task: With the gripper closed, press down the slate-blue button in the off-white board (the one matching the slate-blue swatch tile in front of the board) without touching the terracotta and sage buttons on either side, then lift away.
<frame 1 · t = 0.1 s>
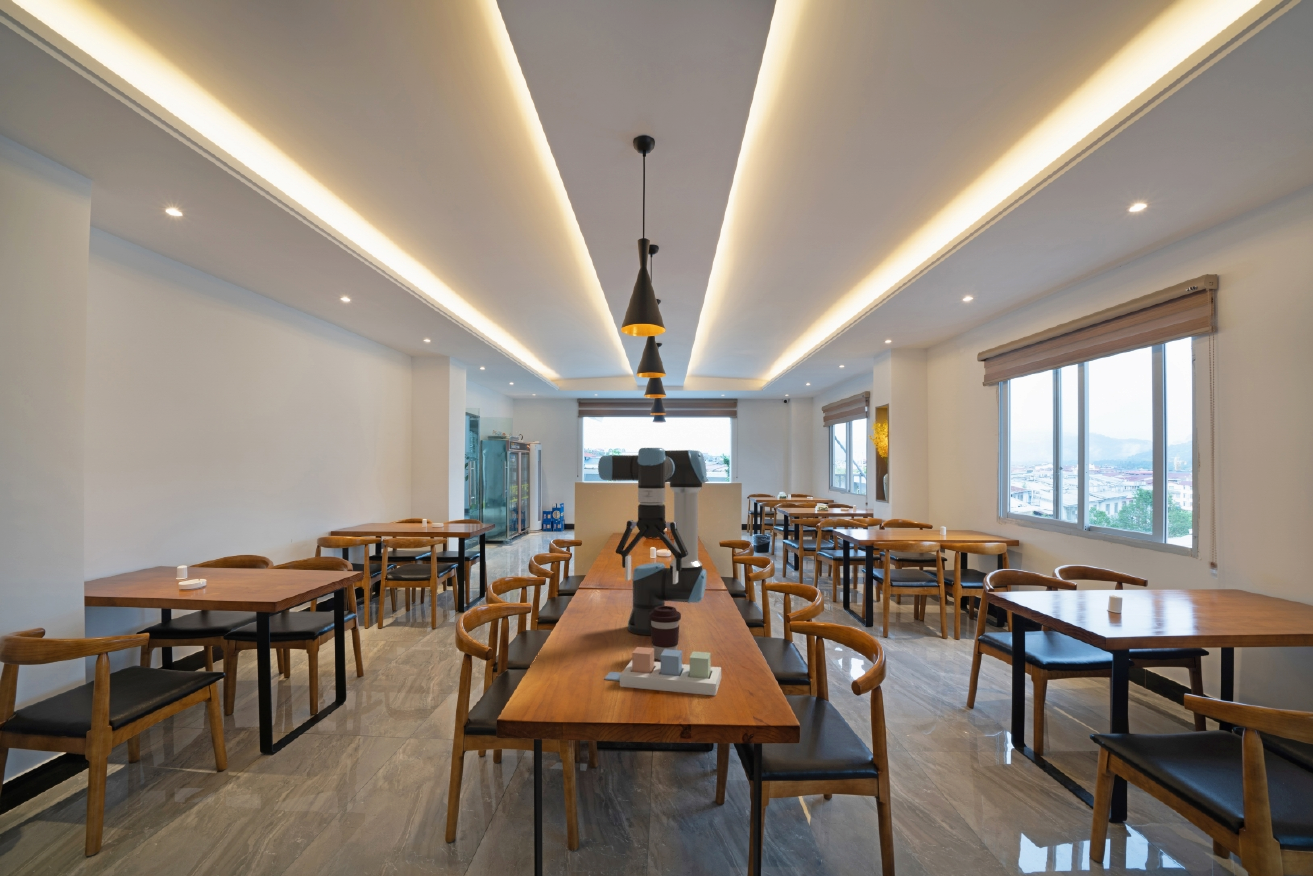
hand: (651, 581, 154), 28 cm above the table, fingers open, 13 cm apart
button sage: (700, 664, 153), point 5 cm above the table, slide at 0.0 cm
button terracotta: (643, 660, 157), point 5 cm above the table, slide at 0.0 cm
button slate: (671, 662, 155), point 5 cm above the table, slide at 0.0 cm
coffee cup: (665, 657, 175), on the table
button board: (671, 682, 155), on the table
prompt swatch: (615, 677, 158), on the table
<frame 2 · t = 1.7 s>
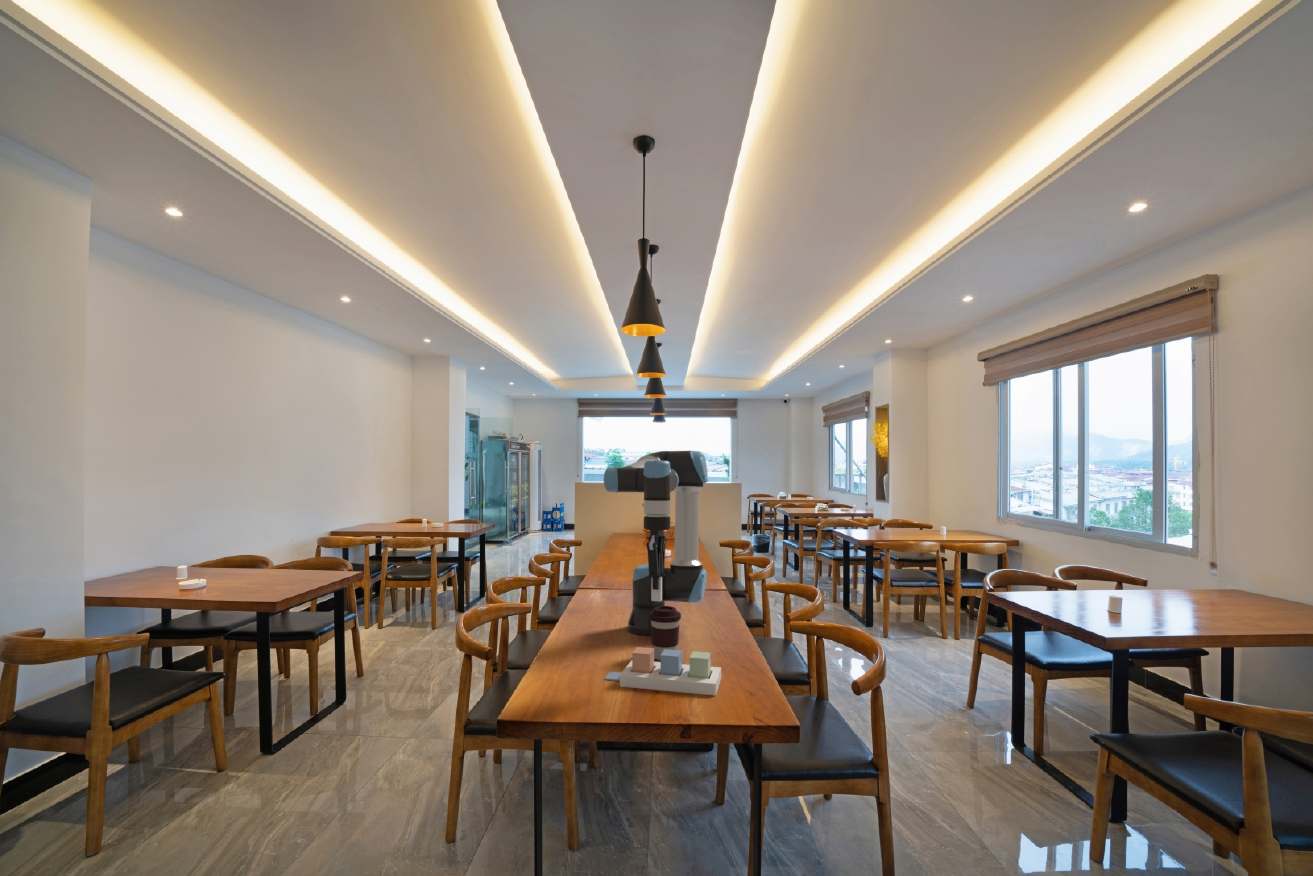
hand: (656, 600, 157), 22 cm above the table, fingers closed
nothing on the table moved.
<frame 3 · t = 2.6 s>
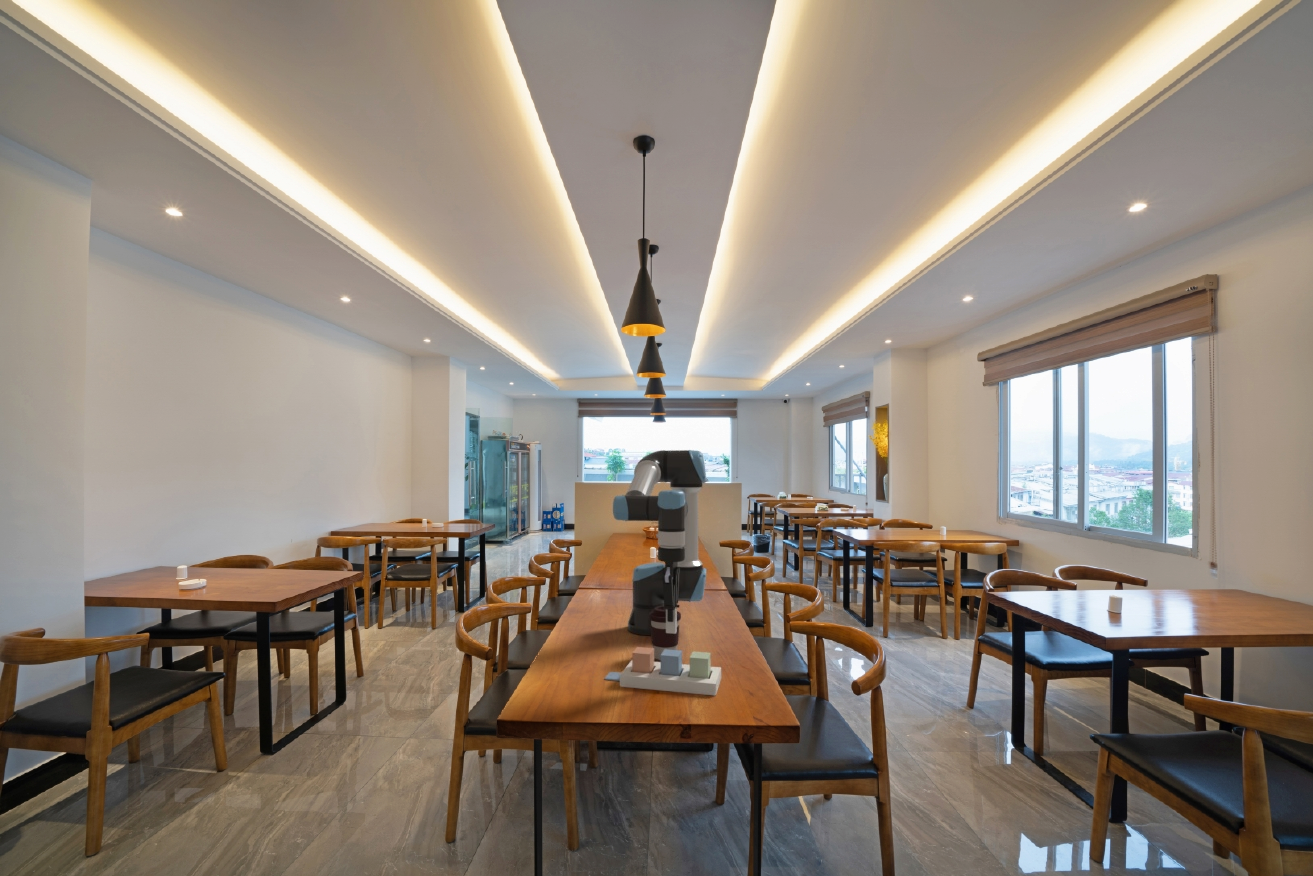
hand: (671, 632, 155), 14 cm above the table, fingers closed
nothing on the table moved.
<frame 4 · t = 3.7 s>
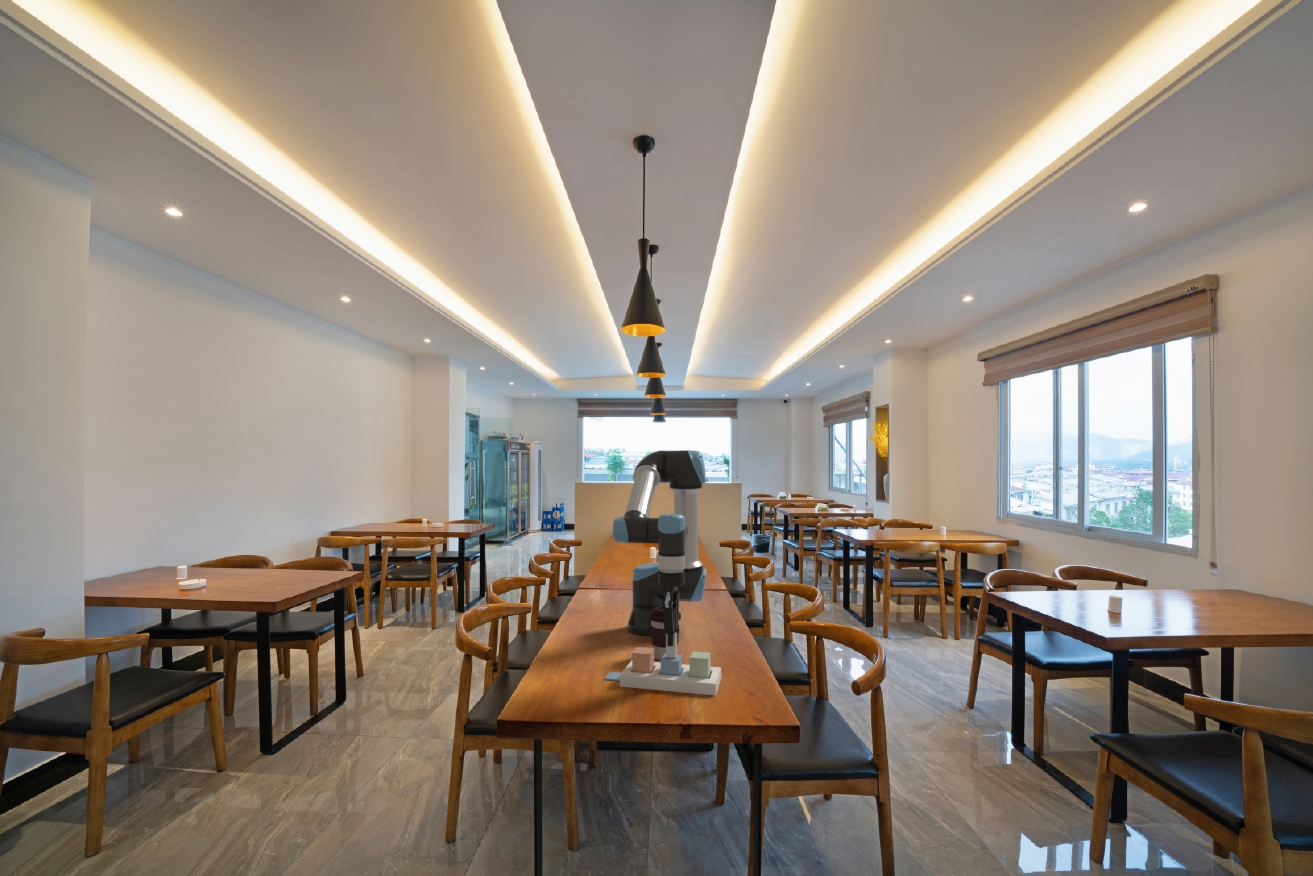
hand: (671, 656, 155), 7 cm above the table, fingers closed
button slate: (671, 667, 155), point 4 cm above the table, slide at 1.3 cm, touching gripper
everything else where it was.
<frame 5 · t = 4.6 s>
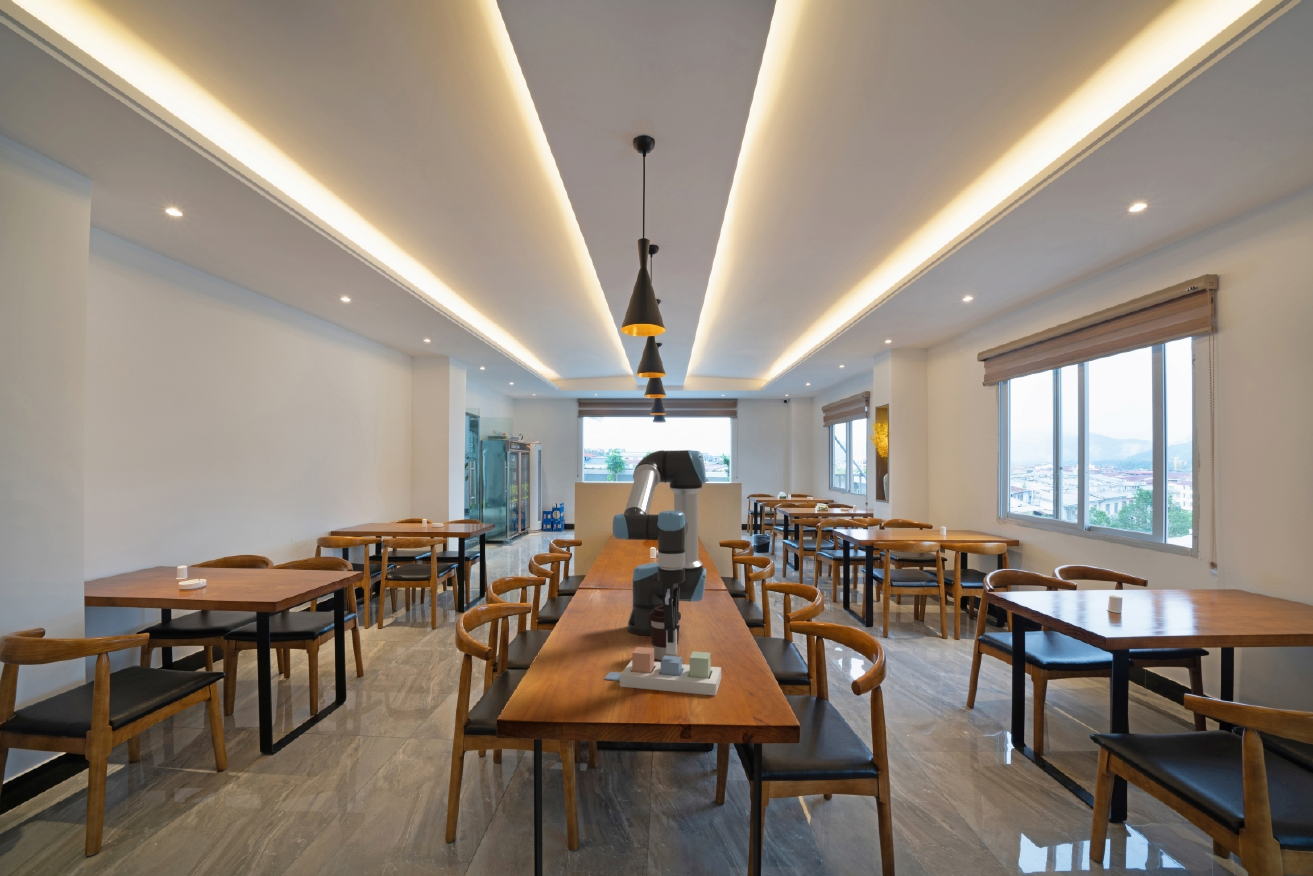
hand: (671, 653, 155), 8 cm above the table, fingers closed
button slate: (671, 668, 155), point 4 cm above the table, slide at 1.8 cm
everything else where it was.
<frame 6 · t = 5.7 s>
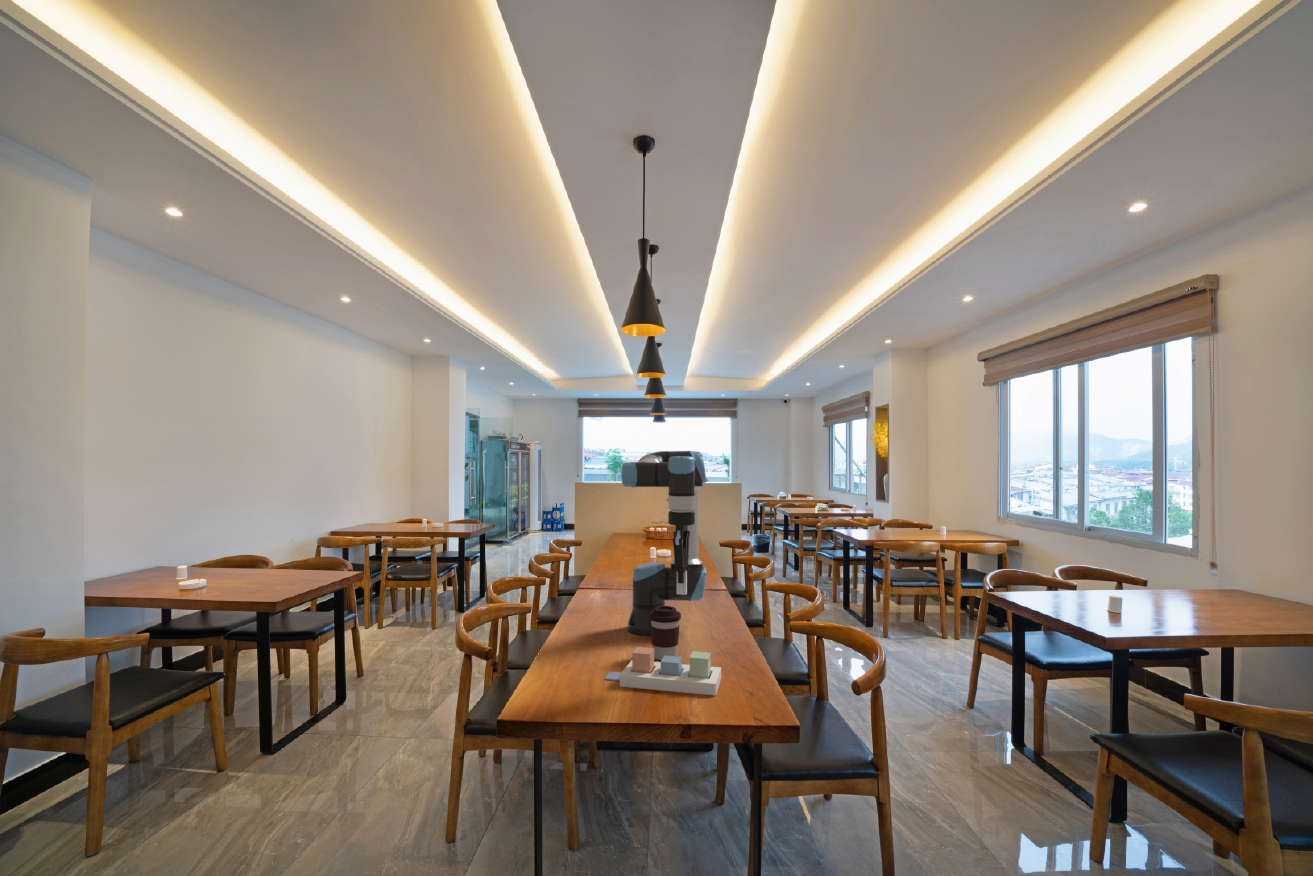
hand: (681, 593, 160), 23 cm above the table, fingers closed
nothing on the table moved.
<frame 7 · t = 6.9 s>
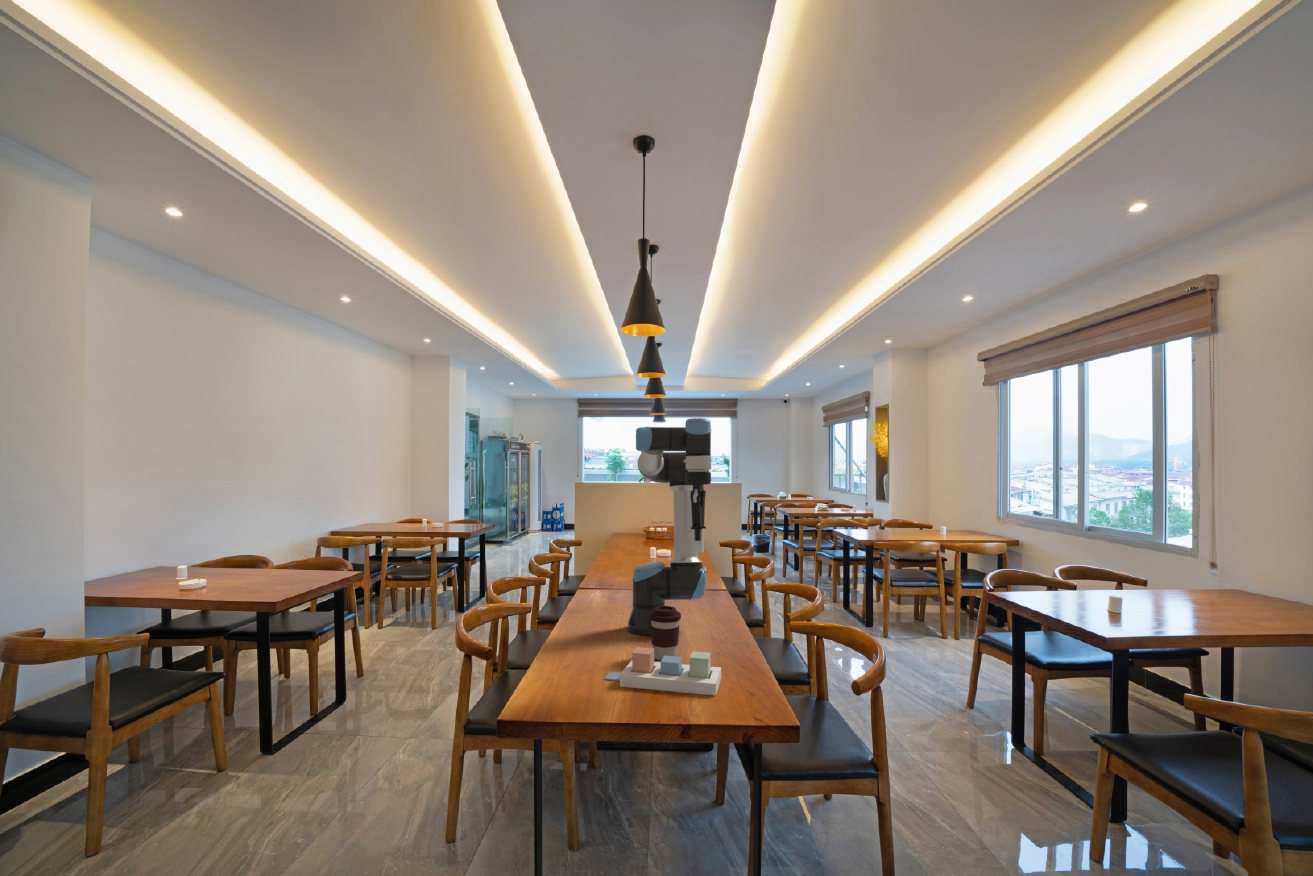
hand: (698, 551, 165), 34 cm above the table, fingers closed
nothing on the table moved.
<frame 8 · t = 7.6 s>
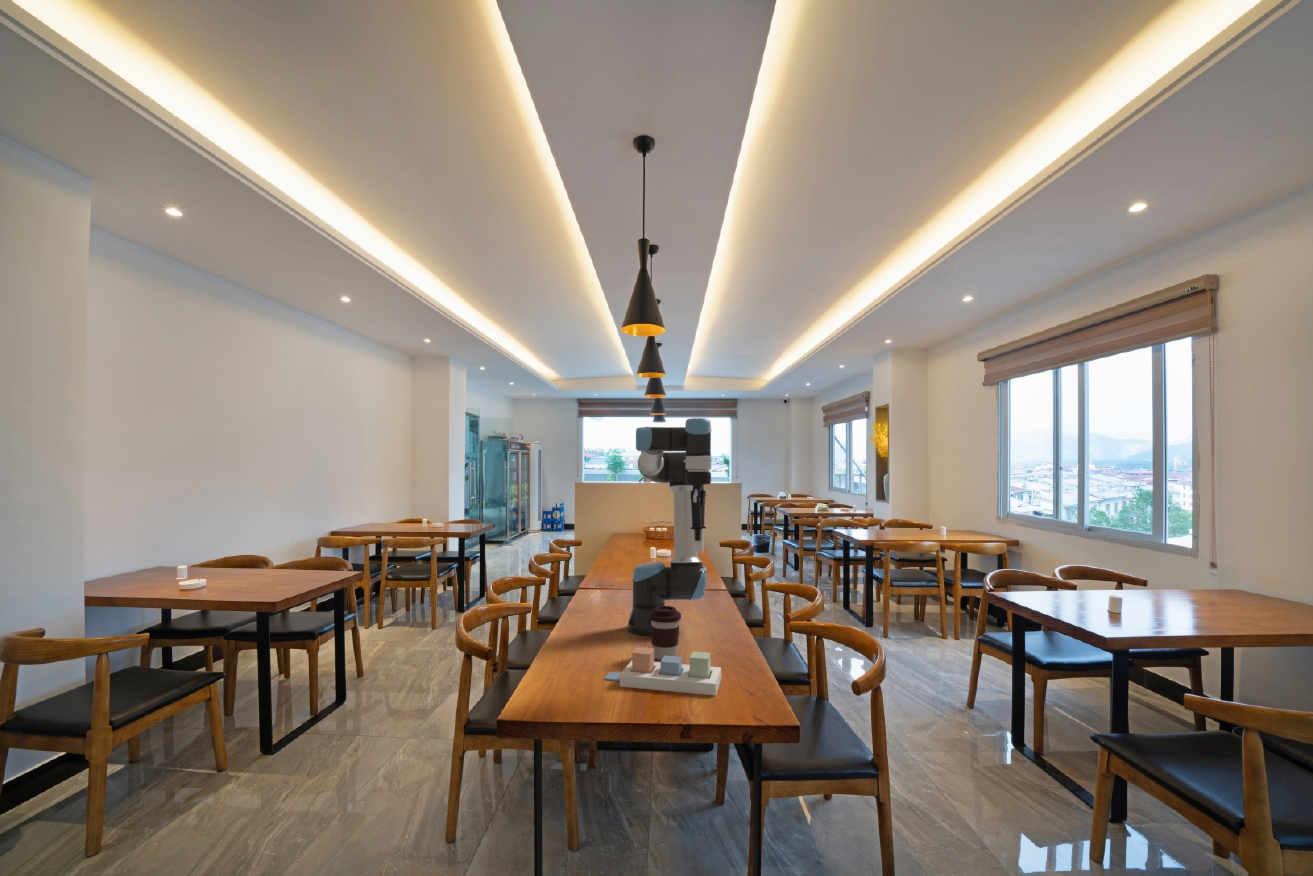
hand: (698, 551, 165), 34 cm above the table, fingers closed
nothing on the table moved.
at the end: button slate slide at 1.8 cm; button terracotta slide at 0.0 cm; button sage slide at 0.0 cm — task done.
